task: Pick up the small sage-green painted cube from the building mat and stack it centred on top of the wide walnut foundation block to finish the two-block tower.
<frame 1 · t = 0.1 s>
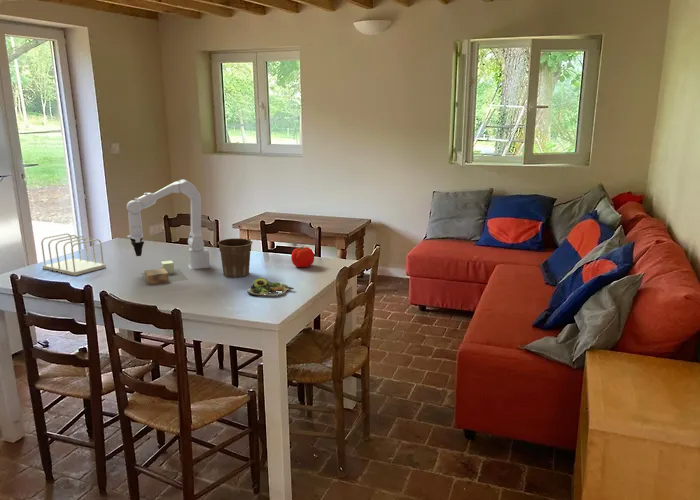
hand: (138, 254, 264), 10 cm above the table, fingers open, 7 cm apart
sage cube: (168, 272, 268), resting on building mat
tomato: (302, 266, 282), on the table
walnut base block: (156, 280, 256), resting on building mat
salad plate: (267, 292, 243), on the table
building mat: (163, 277, 262), on the table
plant pot: (236, 274, 267), on the table
file sorter: (74, 269, 275), on the table
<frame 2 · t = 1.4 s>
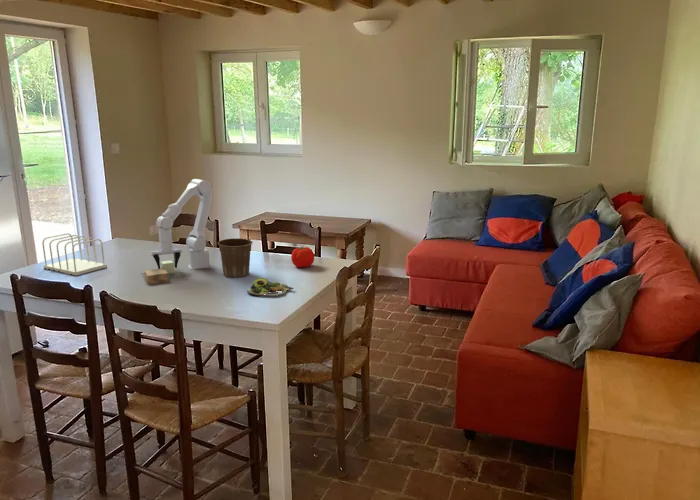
hand: (167, 268, 268), 2 cm above the table, fingers open, 7 cm apart
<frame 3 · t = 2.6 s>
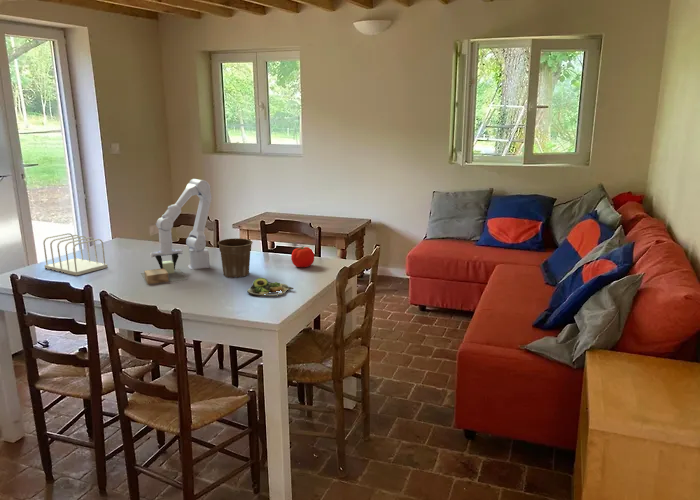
hand: (167, 269, 268), 2 cm above the table, fingers closed on sage cube, 5 cm apart
sage cube: (168, 272, 268), resting on building mat, touching gripper
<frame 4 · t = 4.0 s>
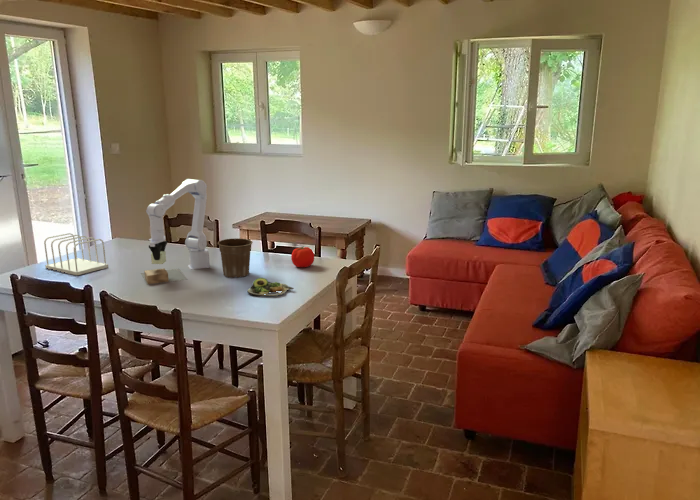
hand: (159, 258, 258), 10 cm above the table, fingers closed on sage cube, 5 cm apart
sage cube: (159, 262, 259), point 7 cm above the table, touching gripper
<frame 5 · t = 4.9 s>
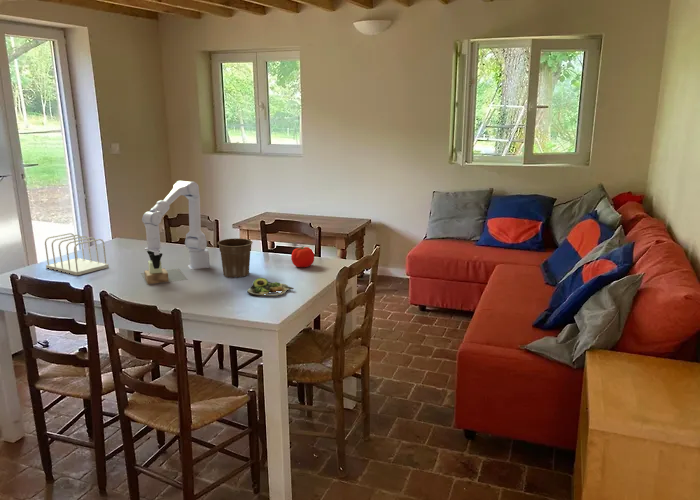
hand: (155, 266, 254), 7 cm above the table, fingers closed on sage cube, 5 cm apart
sage cube: (155, 271, 255), point 4 cm above the table, touching gripper
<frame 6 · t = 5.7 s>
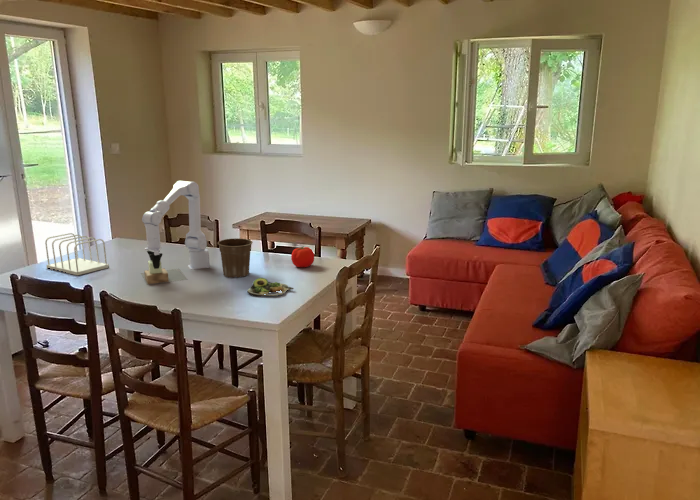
hand: (155, 266, 254), 7 cm above the table, fingers closed on sage cube, 5 cm apart
sage cube: (155, 271, 255), point 4 cm above the table, touching gripper, walnut base block
walnut base block: (156, 280, 256), resting on building mat, touching sage cube
when the fingers open (7 cm above the table, at t = 5.7 s): sage cube stays where it is, resting on walnut base block.
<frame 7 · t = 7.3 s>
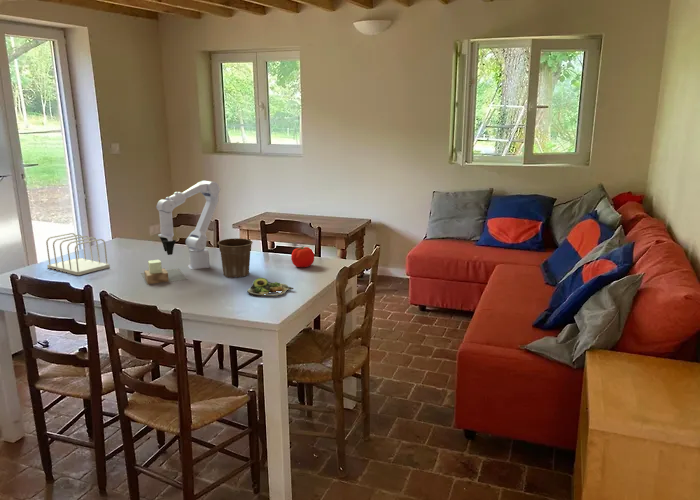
hand: (168, 252, 265), 10 cm above the table, fingers open, 7 cm apart
sage cube: (155, 271, 255), point 4 cm above the table, touching walnut base block
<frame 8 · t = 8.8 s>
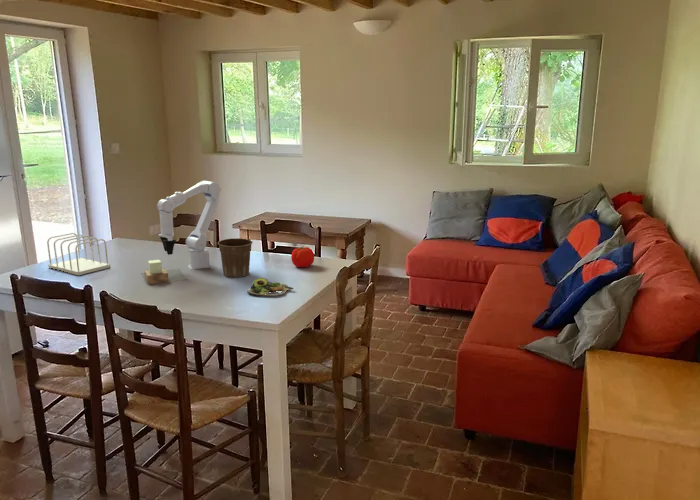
hand: (168, 252, 265), 10 cm above the table, fingers open, 7 cm apart
at the end: sage cube 0.3 cm off-centre on the walnut base block, point 4.0 cm above the walnut base block's base; sage cube tilted 0°; the gripper is holding nothing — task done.
